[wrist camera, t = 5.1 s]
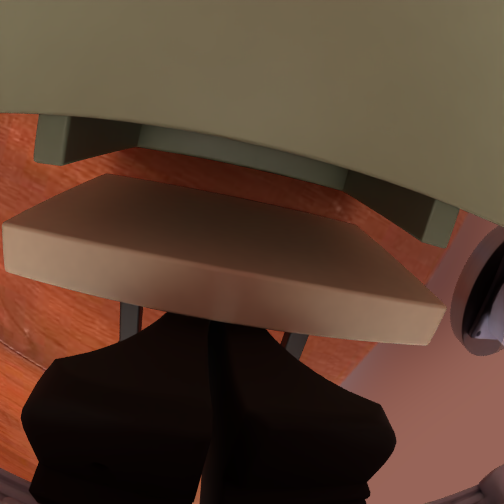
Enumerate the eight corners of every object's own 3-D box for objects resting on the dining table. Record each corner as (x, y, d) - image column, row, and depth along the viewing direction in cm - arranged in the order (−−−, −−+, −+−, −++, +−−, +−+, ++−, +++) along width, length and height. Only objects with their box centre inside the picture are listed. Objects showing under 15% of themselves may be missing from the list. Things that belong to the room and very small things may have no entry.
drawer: (314, 340, 15) (356, 455, 9) (96, 301, 14) (33, 407, 7) (410, -10, 9) (508, -61, 3) (175, -71, 8) (146, -170, 1)
